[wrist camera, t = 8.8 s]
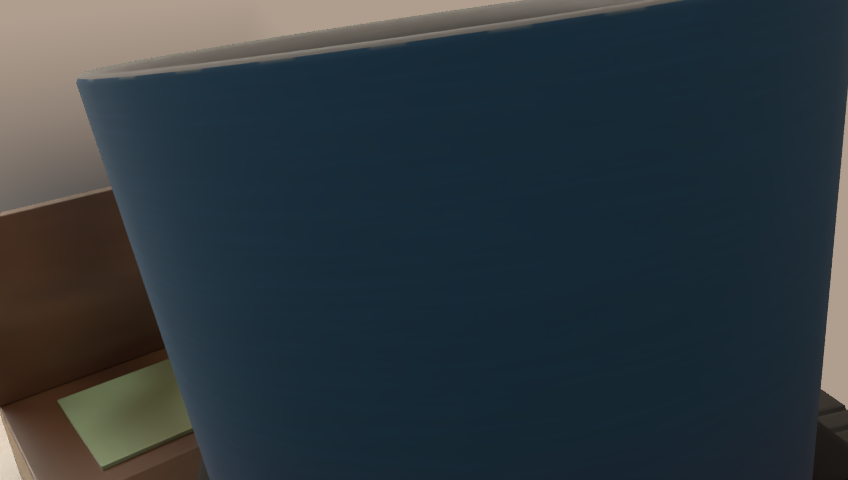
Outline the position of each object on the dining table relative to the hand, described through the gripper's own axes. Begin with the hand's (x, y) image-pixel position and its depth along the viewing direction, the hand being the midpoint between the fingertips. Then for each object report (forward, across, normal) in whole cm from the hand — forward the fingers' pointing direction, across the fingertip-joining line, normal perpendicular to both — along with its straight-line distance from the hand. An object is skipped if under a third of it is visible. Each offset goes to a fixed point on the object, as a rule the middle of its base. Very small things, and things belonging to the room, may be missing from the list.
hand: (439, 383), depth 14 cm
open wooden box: (+26, -11, -16) cm, 32 cm away
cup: (-5, 0, -9) cm, 10 cm away
